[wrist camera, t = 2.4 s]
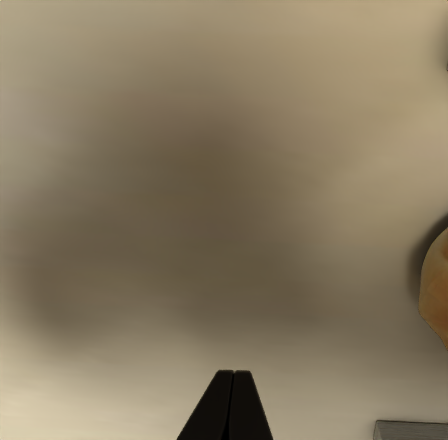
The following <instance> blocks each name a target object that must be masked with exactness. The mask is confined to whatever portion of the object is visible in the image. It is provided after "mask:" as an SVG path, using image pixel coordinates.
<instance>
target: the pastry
mask: <svg viewBox="0 0 448 440" xmlns="http://www.w3.org/2000/svg"><path fill="white" fill-rule="evenodd" d="M418 310H419V313H420V315H421V317H422V318H423V319H424V320H426V321H427V323H428V324H429V325H430V327H431V328H432V329H433V330H434V331H435V332H436V333H437V334H438V335H439V336H440V338H441V339H442V341H443V343H444V345H445V347H446V349H447V351H448V228H446V229H445V230H444V231H443V232H442V233H441V234H440V235H439V236H438V237H437V238H436V239H435V241H434V242H433V243H432V245H431V246H430V248H429V250H428V252H427V254H426V257H425V259H424V262H423V266H422V270H421V287H420V295H419V304H418Z"/></svg>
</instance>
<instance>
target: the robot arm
mask: <svg viewBox="0 0 448 440" xmlns="http://www.w3.org/2000/svg"><path fill="white" fill-rule="evenodd" d="M176 440H273V437H272V434H271V431H270V428H269V425H268V422H267V419H266V415H265V412H264V409H263V406H262V403H261V400H260V397H259V394H258V391H257V388H256V385H255V382H254V379H253V376H252V373H251V372H250V371H247V370H237V371H235V372H234V371H233V370H218V371H217V372H216V374H215V376H214V377H213V379H212V381H211V382H210V384H209V386H208V387H207V389H206V391H205V392H204V394H203V396H202V397H201V399H200V401H199V402H198V404H197V406H196V407H195V409H194V411H193V413H192V414H191V416H190V418H189V419H188V421H187V423H186V424H185V426H184V428H183V429H182V431H181V433H180V434H179V436H178V438H177V439H176Z"/></svg>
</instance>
